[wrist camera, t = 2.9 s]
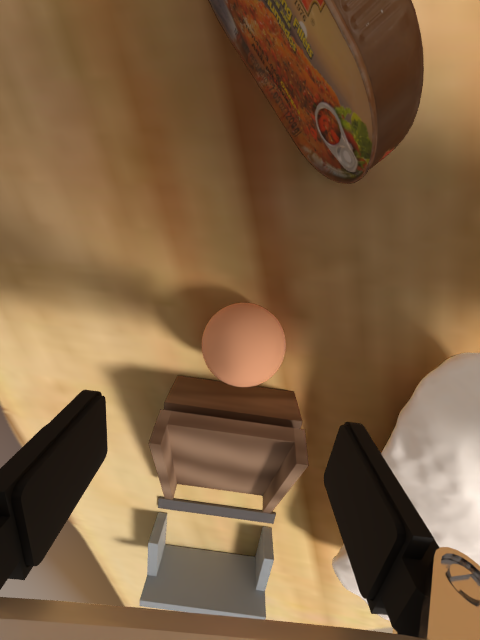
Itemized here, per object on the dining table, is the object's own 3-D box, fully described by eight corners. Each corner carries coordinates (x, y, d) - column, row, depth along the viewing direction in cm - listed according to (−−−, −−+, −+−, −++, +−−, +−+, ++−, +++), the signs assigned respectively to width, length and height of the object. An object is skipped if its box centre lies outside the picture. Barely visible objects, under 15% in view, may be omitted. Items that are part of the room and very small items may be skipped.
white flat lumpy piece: (361, 616, 31) (419, 758, 23) (251, 398, 21) (277, 503, 13) (536, 540, 31) (663, 655, 22) (508, 281, 21) (721, 305, 12)
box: (159, 496, 28) (140, 550, 23) (275, 512, 28) (280, 569, 23) (156, 548, 31) (139, 605, 26) (262, 563, 31) (264, 622, 26)
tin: (183, -33, 14) (97, -376, 6) (226, -86, 13) (192, -552, 5) (327, 197, 18) (391, 167, 10) (368, 165, 17) (473, 103, 9)
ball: (212, 289, 20) (197, 311, 14) (287, 299, 20) (301, 326, 14) (205, 356, 22) (190, 398, 16) (273, 365, 22) (281, 411, 16)
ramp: (178, 374, 23) (148, 432, 16) (293, 390, 23) (311, 455, 16) (171, 478, 27) (145, 558, 20) (269, 491, 27) (275, 576, 20)
